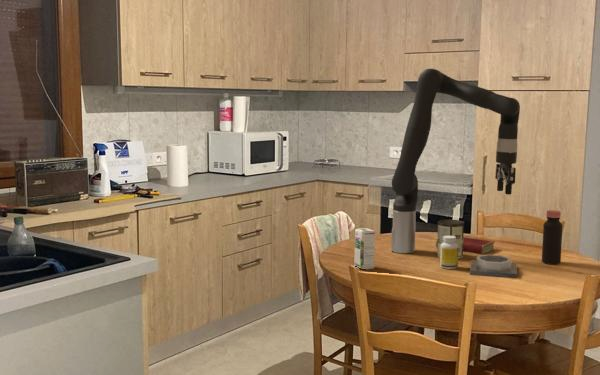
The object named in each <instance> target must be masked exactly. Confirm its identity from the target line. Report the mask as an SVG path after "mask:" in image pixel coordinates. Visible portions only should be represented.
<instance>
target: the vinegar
mask: <svg viewBox="0 0 600 375" xmlns="http://www.w3.org/2000/svg"><path fill="white" fill-rule="evenodd" d="M561 214H562V213H561V211H560V210H548V209H547V210H546V221H545V222H543V229H542V247H541V249H542V250H541V262H542V263H544V264H546V265H559V264H561V262H562V261H561V260H562V244H563V243H562V242H563V240H562V239H563V223H562V222H561V221H560V219H561Z"/></svg>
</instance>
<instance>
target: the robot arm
mask: <svg viewBox="0 0 600 375" xmlns="http://www.w3.org/2000/svg"><path fill="white" fill-rule="evenodd" d="M438 93H439V94H442V95H443V94H444V95H448V96H452V97H454V98H457V99H460V100H462V101H464V102H466V103H468V104H471V105H473V106H476V107H479V108H482V109H485V110H490V111H492V112H494V113H496V114H499V115H500V119H499V120H500V123H499V126H498V132H497V142H496V150H495V151H496V153H495V154H496V155H495V163H496V164H495V165H496V166H495V176H494V177H495V178H494V179H495V180H496V181H497V183H496V184H497V185H496V191H498V192H503V191H504V194H505V195H509V196H510V195H512V192H513V190H512V187H513V185H515V184H516V170H517V169H516V167H513V164H514V165H515V164H516V163H517V157H518V155H517V154H518V132H519V129H518V128H519V127H518V126H519V125H518V124H519V120H520V119H519V118H520V111H521V105H520V102H519V101H518V100H517V99H516V98H514V97H509V96H505V95H502V94H499V93H496V92H494V91H492V90H490V89H488V88H487V89H486V88H483V87H480V86H477V85H475V84H474V85H473V84H470V83H465V82H462V81H460V80H458V79H454V78H453V77H450V76H448V75H446V74H444V73H443V72H441V71H440V70H438V69H435V68H426V69H424V70H423V71H421V73H420V74H419V76H418V78H417V85H416V92H415V97H414V102H413V107H412V109H411V112H410V116H409V119H408V122H407V124H406V129H405V133H404V137H403V142H402V146H401V150H400V154H399V159H398V160H399V161H398V162H397V166H396V168H395V171H394V173H393V176H392V179H391V188H392V190H393V191H394V193H395V198H394V202H393V204H392V229H391V247H390V248H391V251H393V253H396V254H397V253H399V254H411V253H415V251H416V250H415V249H416V220H417V219H416V218H417V217H416V214H417V212H416V210H417V204H418V195H419V193H418V192H419V179H418V177H417V175H416V169H417V165H418V162H419V160H420V158H421V156H422V154H423V152H424V150H425V148H426V146H427V142H428V139H429V136H430V132H431V126H432V112H433V111H432V110H433V105H434V101H435V99H436V97H437V94H438ZM504 182H505V189H504ZM391 251H390V252H391Z"/></svg>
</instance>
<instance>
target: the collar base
mask: <svg viewBox="0 0 600 375" xmlns="http://www.w3.org/2000/svg"><path fill="white" fill-rule="evenodd" d="M517 267H518V266H517V262H512V258H511V257H508V256H504V255H499V254H483V255H482V254H479V255H476V259H471V262H470V268H469V275H473V276H485V277H499V278H501V277H502V278H513V279H517V278H518V269H517Z"/></svg>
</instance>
